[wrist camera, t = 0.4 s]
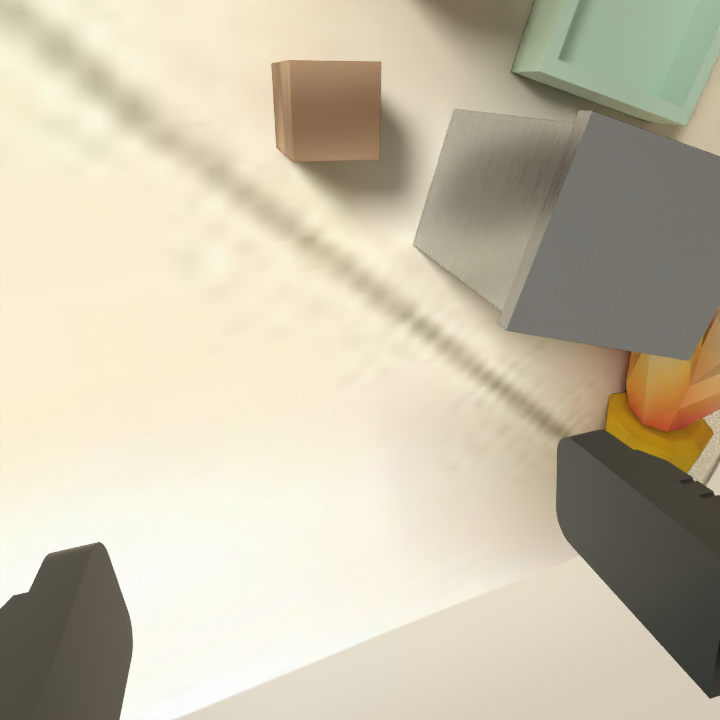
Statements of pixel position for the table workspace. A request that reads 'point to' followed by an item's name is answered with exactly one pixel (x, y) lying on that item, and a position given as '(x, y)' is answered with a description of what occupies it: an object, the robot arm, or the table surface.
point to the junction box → (579, 229)
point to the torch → (669, 402)
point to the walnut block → (327, 109)
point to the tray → (624, 53)
